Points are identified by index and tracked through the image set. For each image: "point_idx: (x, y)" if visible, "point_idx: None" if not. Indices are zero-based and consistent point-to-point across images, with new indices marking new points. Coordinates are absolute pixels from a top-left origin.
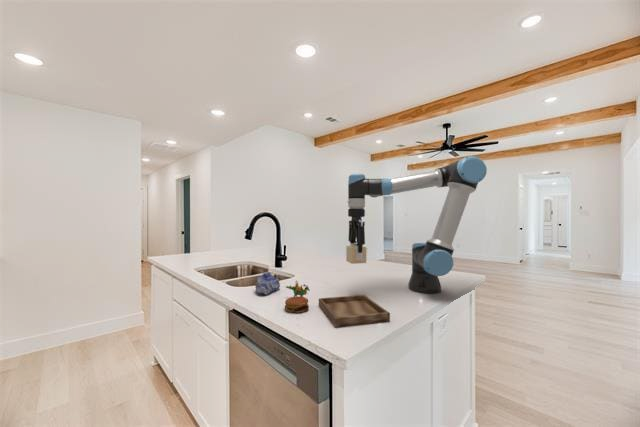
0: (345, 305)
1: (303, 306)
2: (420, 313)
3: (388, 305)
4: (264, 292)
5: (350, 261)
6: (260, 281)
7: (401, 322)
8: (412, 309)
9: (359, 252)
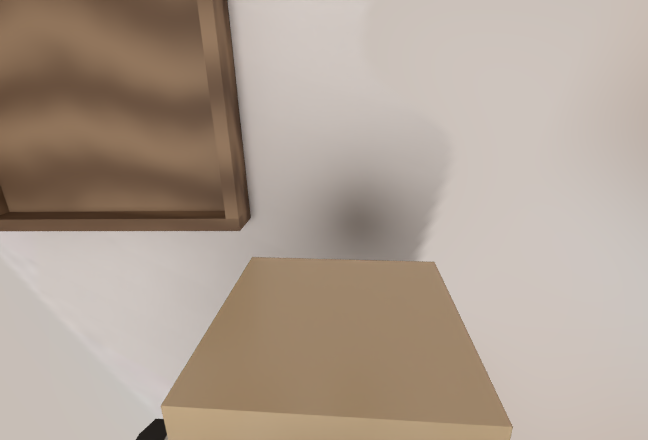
0: (165, 92)
1: None
2: (97, 355)
3: (189, 296)
4: None
5: (283, 266)
6: None
7: (11, 254)
8: (137, 353)
9: (152, 426)
